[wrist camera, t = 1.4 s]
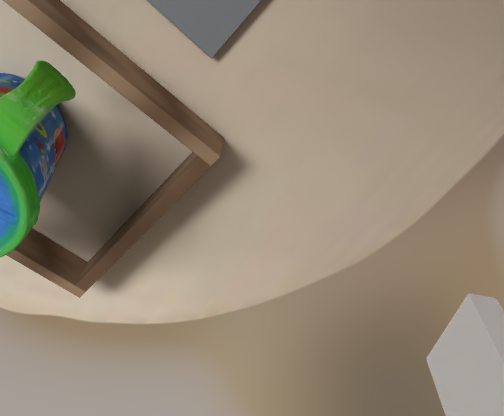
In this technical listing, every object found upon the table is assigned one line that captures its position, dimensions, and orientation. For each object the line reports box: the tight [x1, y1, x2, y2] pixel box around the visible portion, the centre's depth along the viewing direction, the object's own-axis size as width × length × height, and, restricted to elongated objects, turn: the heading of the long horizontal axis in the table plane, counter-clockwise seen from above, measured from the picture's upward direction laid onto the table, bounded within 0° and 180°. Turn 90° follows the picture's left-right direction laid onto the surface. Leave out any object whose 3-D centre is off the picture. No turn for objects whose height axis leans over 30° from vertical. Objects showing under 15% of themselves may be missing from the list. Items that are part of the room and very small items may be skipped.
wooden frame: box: [3, 0, 224, 298], centre depth 32 cm, size 24×19×3 cm
